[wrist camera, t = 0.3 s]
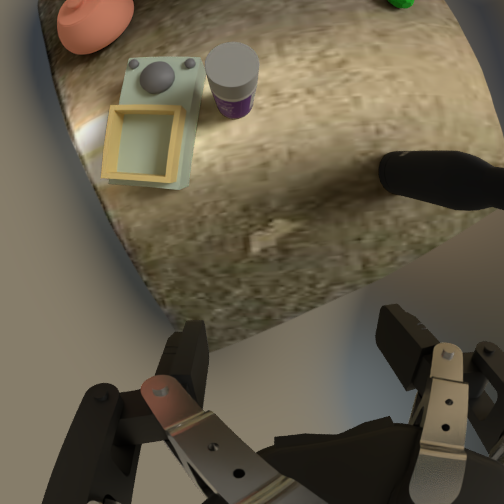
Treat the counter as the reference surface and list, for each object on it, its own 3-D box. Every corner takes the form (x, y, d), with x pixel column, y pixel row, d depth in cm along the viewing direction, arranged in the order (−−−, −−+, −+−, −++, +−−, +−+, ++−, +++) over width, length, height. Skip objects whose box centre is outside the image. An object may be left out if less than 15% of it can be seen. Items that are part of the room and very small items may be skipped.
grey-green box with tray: (144, 71, 31) (120, 50, 22) (206, 72, 32) (196, 47, 23) (126, 180, 36) (97, 186, 27) (188, 186, 36) (172, 192, 28)
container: (215, 118, 34) (199, 87, 20) (218, 85, 32) (206, 39, 18) (251, 120, 34) (258, 90, 20) (254, 87, 33) (262, 42, 18)
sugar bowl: (79, 73, 30) (43, 55, 20) (65, 20, 26) (34, -1, 16) (148, 30, 29) (124, -1, 19) (126, -18, 25) (105, -49, 15)
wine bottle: (402, 201, 38) (574, 267, 9) (371, 180, 37) (560, 227, 8) (418, 166, 36) (591, 195, 8) (388, 143, 35) (574, 143, 7)
